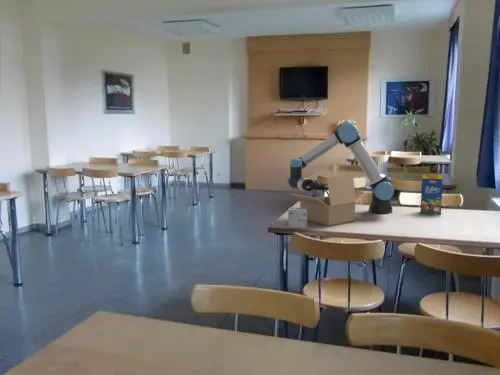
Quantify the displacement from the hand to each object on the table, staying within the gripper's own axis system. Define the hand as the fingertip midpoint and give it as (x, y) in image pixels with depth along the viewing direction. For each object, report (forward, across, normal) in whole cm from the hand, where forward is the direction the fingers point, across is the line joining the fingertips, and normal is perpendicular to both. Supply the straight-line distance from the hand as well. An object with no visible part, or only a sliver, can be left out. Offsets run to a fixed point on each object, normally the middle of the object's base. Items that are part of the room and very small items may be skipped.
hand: (333, 189), depth 289 cm
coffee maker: (-36, -38, -20) cm, 56 cm away
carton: (-5, 0, -20) cm, 20 cm away
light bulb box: (-3, +25, -20) cm, 32 cm away
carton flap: (+6, 0, 0) cm, 6 cm away
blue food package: (+19, -70, -20) cm, 75 cm away
